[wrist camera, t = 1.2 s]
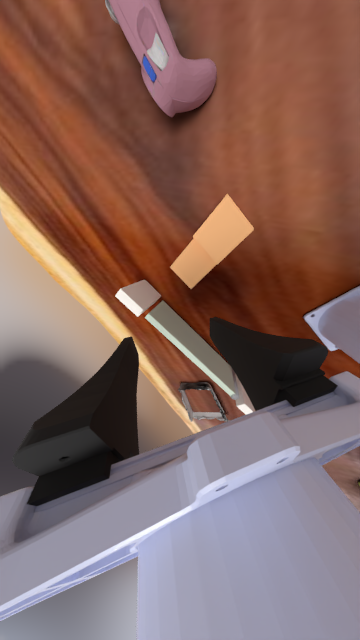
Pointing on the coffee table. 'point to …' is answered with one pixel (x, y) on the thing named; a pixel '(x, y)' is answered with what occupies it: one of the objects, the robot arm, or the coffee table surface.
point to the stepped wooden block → (212, 242)
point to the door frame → (145, 295)
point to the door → (194, 347)
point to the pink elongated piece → (163, 57)
